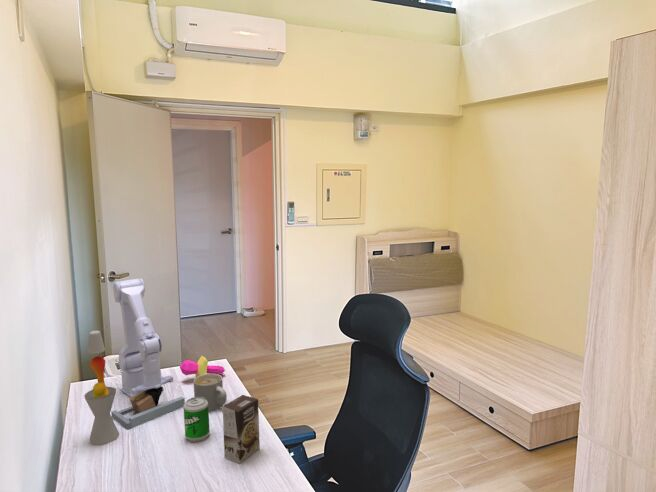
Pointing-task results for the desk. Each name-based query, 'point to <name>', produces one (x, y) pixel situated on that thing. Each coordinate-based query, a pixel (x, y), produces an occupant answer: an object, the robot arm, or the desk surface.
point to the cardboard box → (142, 402)
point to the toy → (200, 367)
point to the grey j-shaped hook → (146, 413)
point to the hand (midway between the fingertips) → (154, 407)
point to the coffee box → (241, 428)
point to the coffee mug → (210, 390)
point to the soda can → (196, 419)
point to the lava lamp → (100, 396)
